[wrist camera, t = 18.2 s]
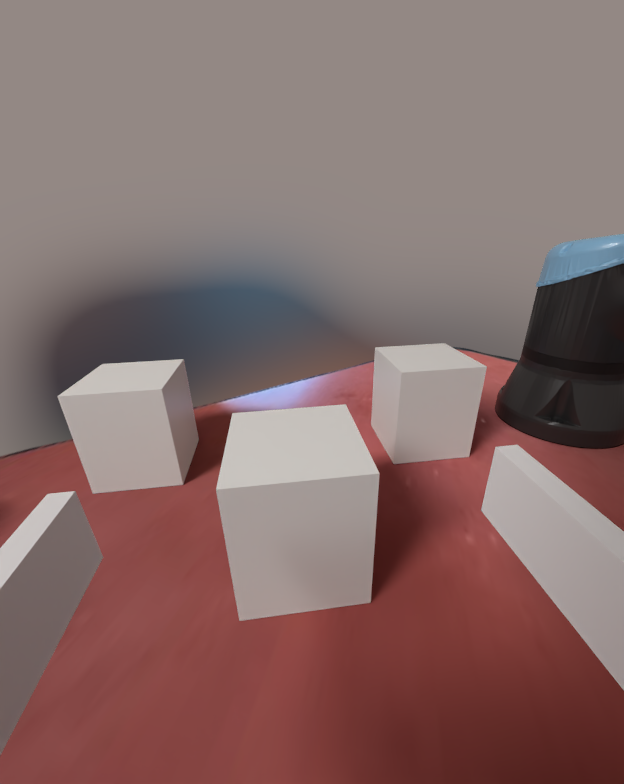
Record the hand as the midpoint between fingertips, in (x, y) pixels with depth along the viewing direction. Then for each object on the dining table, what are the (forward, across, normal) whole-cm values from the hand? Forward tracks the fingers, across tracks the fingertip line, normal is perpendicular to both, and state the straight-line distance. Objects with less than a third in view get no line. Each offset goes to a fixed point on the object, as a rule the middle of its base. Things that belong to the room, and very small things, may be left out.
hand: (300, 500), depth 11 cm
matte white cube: (+26, +16, -16) cm, 34 cm away
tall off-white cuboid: (+11, 0, -15) cm, 19 cm away
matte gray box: (+26, -16, -15) cm, 34 cm away
